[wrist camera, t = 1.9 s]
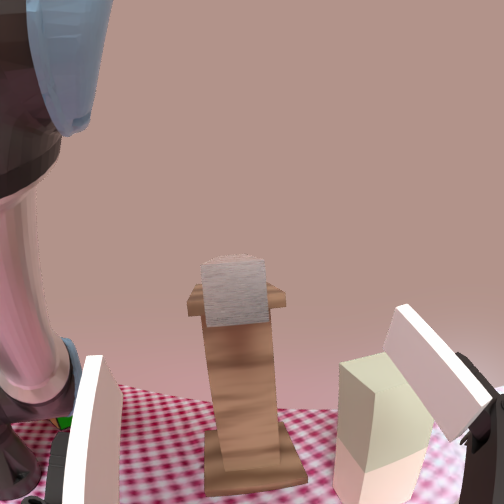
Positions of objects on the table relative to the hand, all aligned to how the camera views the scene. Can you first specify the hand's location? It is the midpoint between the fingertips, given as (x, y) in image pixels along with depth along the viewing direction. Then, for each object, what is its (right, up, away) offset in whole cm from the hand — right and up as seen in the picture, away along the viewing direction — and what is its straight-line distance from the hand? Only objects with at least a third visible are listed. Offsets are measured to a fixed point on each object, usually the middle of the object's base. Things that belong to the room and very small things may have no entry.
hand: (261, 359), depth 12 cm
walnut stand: (-1, -28, +26) cm, 38 cm away
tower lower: (+15, -27, +14) cm, 34 cm away
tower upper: (+14, -17, +14) cm, 26 cm away
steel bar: (-2, 0, +21) cm, 21 cm away
